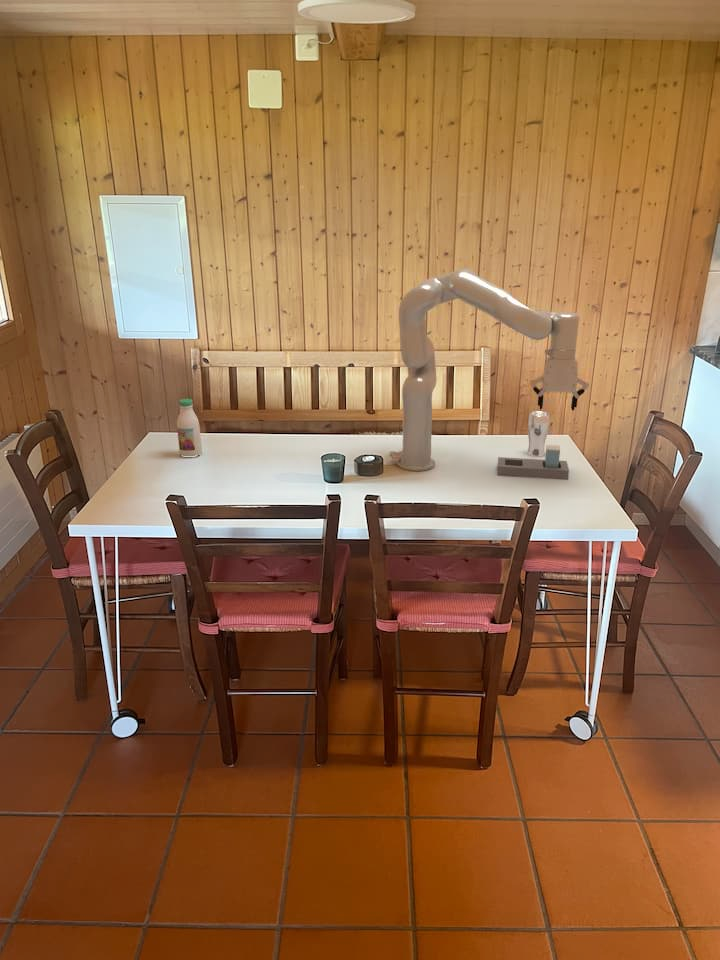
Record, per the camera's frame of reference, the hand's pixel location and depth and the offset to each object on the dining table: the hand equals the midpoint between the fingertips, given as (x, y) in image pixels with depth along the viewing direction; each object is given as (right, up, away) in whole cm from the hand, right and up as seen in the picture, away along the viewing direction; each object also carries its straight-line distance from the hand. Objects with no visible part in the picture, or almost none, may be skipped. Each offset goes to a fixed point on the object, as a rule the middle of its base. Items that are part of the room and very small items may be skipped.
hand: (556, 408), depth 217 cm
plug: (0, -20, +8) cm, 22 cm away
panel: (-6, -20, +9) cm, 23 cm away
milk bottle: (-122, -14, +30) cm, 126 cm away
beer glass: (0, -14, +26) cm, 30 cm away
